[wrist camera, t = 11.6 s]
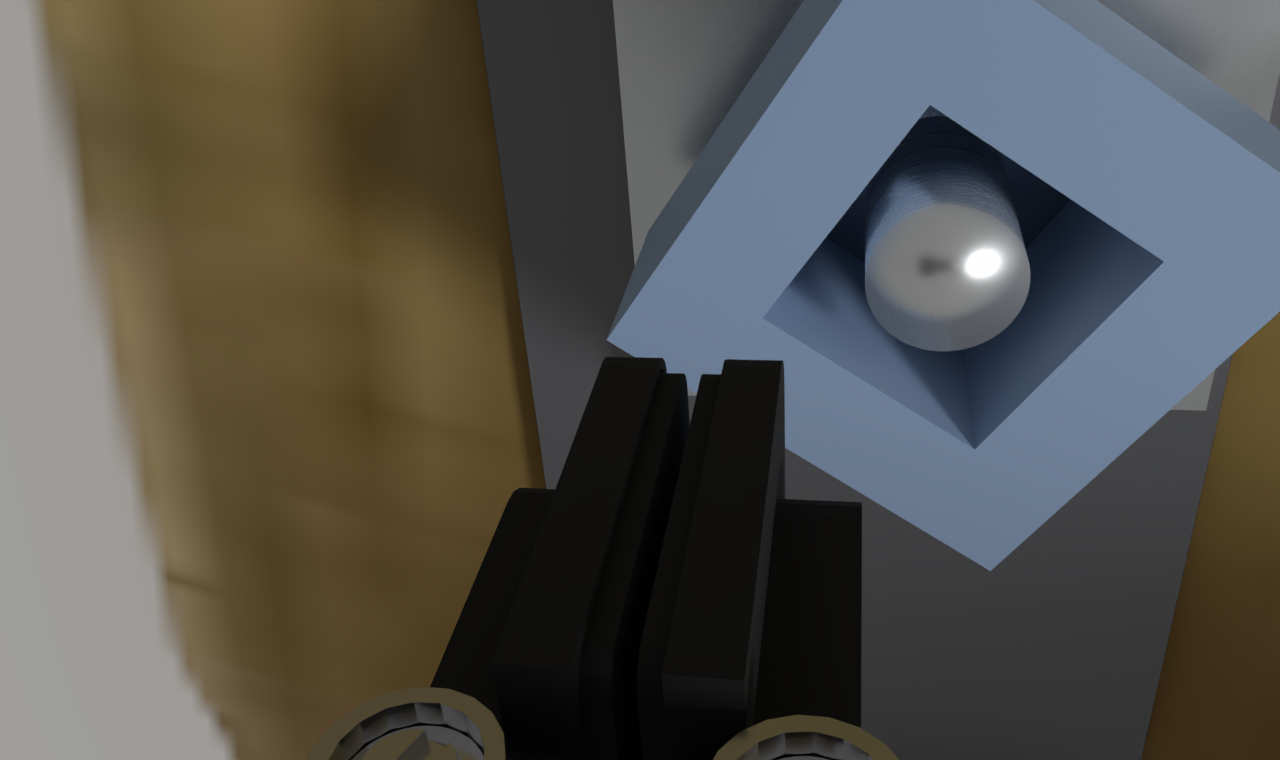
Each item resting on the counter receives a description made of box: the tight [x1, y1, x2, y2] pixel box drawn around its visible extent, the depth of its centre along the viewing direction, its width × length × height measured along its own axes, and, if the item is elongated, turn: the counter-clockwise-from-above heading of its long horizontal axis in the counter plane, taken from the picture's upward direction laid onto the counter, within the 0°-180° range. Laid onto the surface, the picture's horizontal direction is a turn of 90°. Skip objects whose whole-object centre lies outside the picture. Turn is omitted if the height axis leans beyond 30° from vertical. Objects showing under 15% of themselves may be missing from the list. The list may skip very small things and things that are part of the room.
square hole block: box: [607, 0, 1280, 571], centre depth 16 cm, size 6×6×4 cm
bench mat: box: [477, 0, 1280, 760], centre depth 25 cm, size 13×36×1 cm, turn 4°
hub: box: [613, 0, 1280, 411], centre depth 17 cm, size 10×10×6 cm
